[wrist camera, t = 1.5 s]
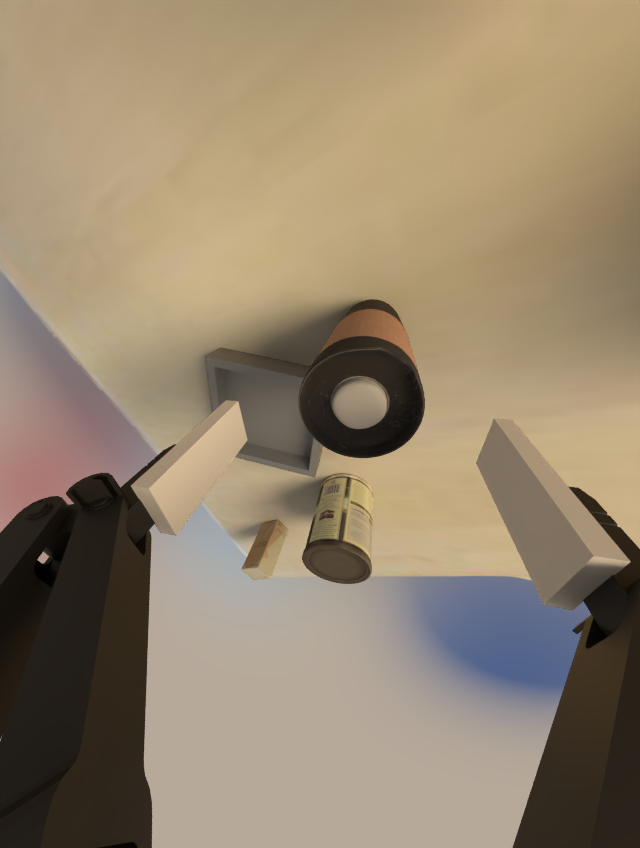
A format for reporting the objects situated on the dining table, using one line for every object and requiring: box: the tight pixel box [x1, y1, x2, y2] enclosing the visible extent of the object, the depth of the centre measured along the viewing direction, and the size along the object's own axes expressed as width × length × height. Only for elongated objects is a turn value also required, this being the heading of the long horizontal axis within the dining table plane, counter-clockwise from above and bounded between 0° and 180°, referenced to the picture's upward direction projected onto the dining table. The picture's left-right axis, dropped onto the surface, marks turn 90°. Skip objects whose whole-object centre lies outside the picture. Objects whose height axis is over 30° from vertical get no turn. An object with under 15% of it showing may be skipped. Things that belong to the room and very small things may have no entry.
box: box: [242, 520, 288, 580], centre depth 55 cm, size 5×4×11 cm
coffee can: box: [302, 474, 373, 584], centre depth 42 cm, size 10×10×14 cm
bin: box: [205, 348, 323, 477], centre depth 39 cm, size 17×17×4 cm
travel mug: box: [298, 300, 425, 458], centre depth 23 cm, size 8×8×20 cm
